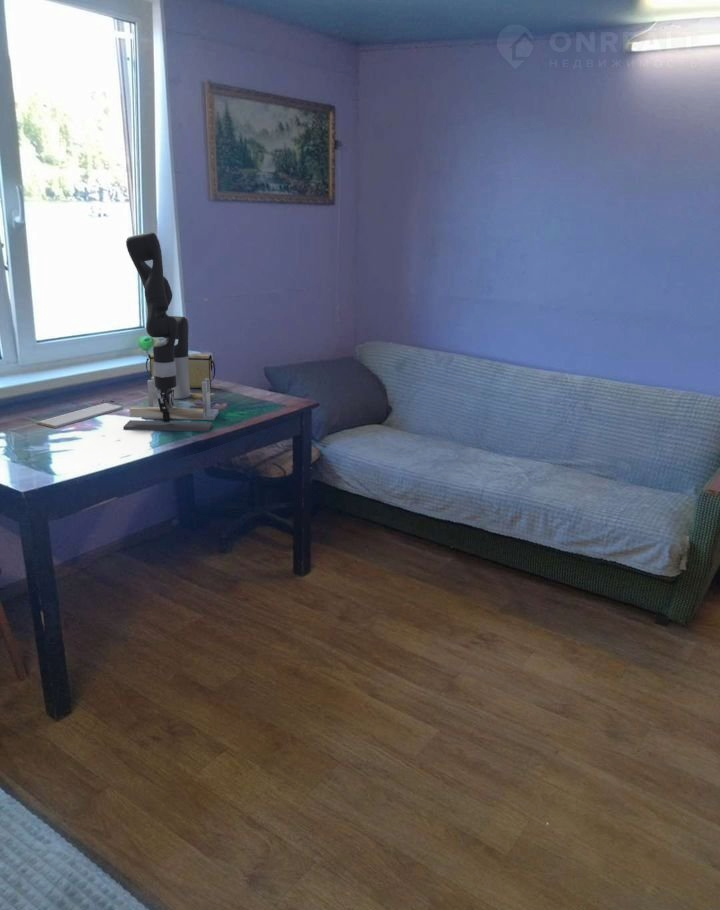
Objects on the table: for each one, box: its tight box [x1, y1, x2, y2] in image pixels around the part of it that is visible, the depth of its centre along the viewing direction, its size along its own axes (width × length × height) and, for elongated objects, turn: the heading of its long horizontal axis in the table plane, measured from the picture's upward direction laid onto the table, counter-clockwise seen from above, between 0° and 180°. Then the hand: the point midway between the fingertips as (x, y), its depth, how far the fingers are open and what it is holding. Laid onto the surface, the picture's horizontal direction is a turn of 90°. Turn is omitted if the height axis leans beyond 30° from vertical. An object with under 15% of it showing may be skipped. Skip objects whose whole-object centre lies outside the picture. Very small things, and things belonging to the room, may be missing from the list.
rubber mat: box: [123, 419, 213, 433], centre depth 253 cm, size 8×30×1 cm, turn 91°
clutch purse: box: [145, 353, 216, 389], centre depth 307 cm, size 30×7×15 cm, turn 93°
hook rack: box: [141, 377, 219, 421], centre depth 265 cm, size 10×27×14 cm, turn 91°
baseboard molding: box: [35, 399, 124, 429], centre depth 263 cm, size 31×3×12 cm
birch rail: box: [128, 405, 205, 419], centre depth 252 cm, size 3×26×3 cm, turn 91°
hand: (167, 420), depth 253 cm, fingers closed on birch rail, 3 cm apart
